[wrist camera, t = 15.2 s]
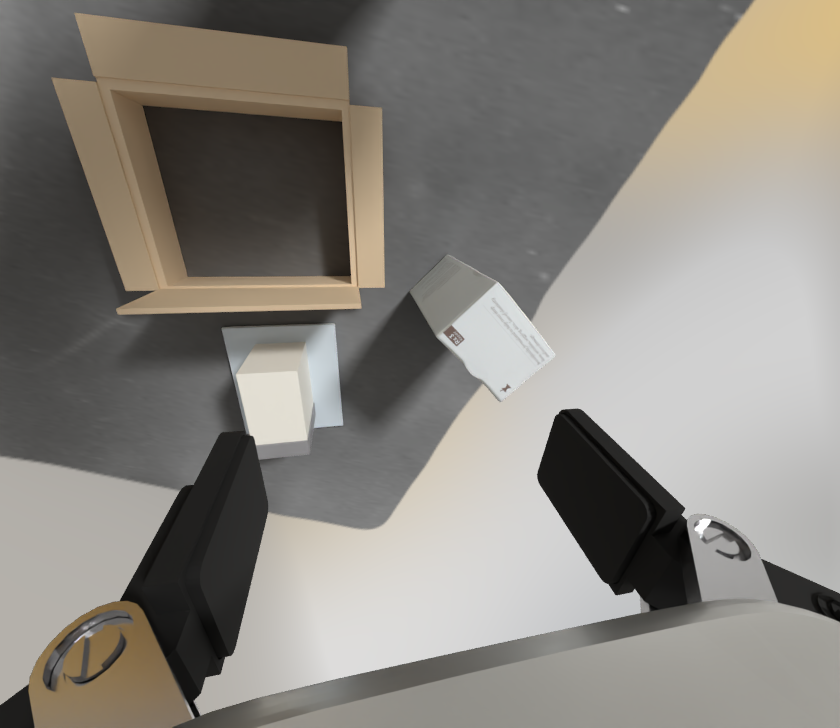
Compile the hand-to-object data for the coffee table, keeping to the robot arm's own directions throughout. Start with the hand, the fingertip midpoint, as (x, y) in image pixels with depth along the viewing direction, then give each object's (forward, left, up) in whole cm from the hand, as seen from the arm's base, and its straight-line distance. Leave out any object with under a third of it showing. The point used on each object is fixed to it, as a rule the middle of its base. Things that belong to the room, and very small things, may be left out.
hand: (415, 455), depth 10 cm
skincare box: (+2, +9, -28) cm, 29 cm away
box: (+11, -9, -27) cm, 30 cm away
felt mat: (+11, -9, -27) cm, 31 cm away
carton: (-8, -9, -27) cm, 30 cm away
